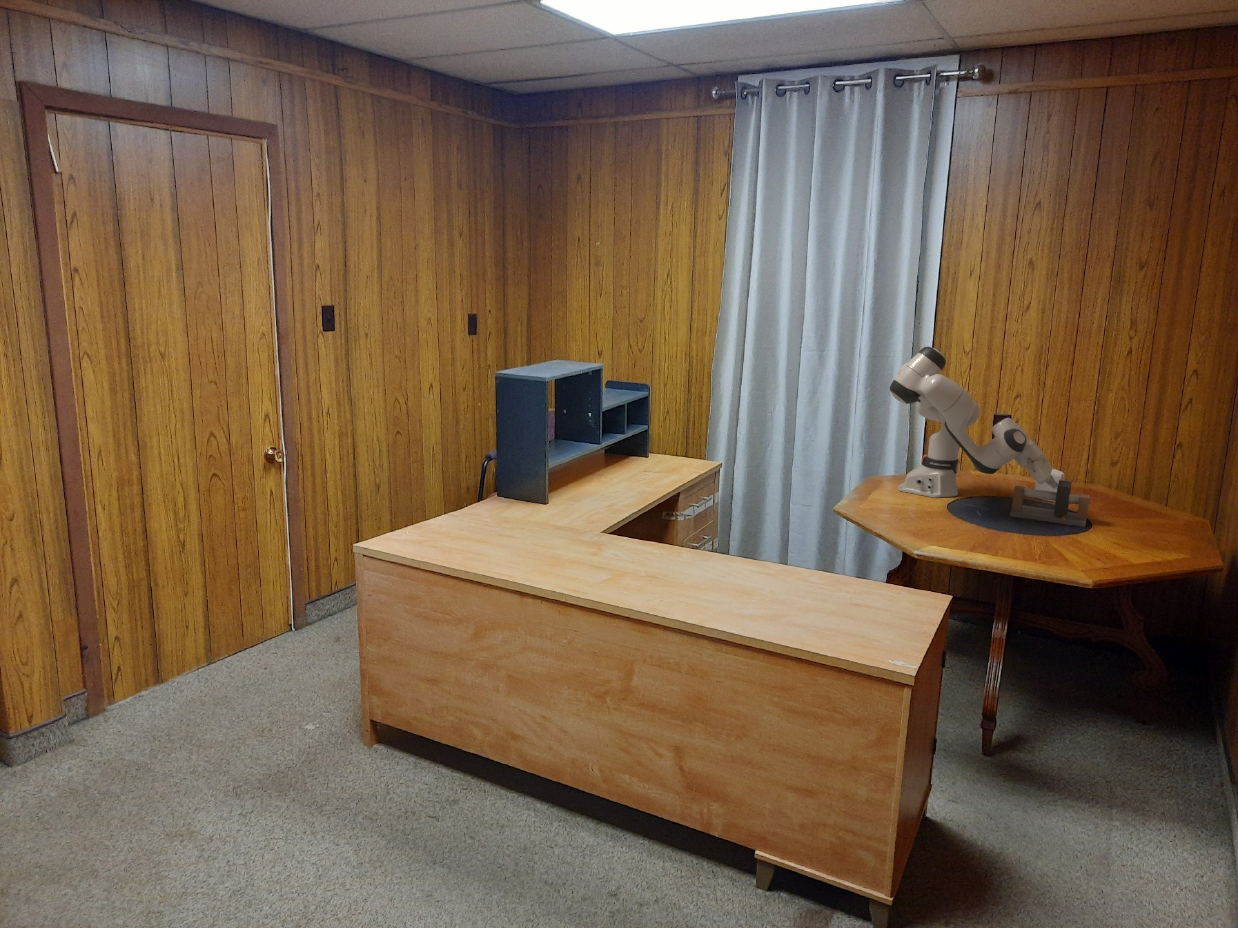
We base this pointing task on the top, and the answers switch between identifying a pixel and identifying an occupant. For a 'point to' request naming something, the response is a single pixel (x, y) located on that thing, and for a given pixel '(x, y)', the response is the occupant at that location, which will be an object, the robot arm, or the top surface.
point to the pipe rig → (1048, 514)
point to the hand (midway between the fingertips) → (1055, 486)
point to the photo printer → (1046, 487)
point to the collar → (1062, 497)
